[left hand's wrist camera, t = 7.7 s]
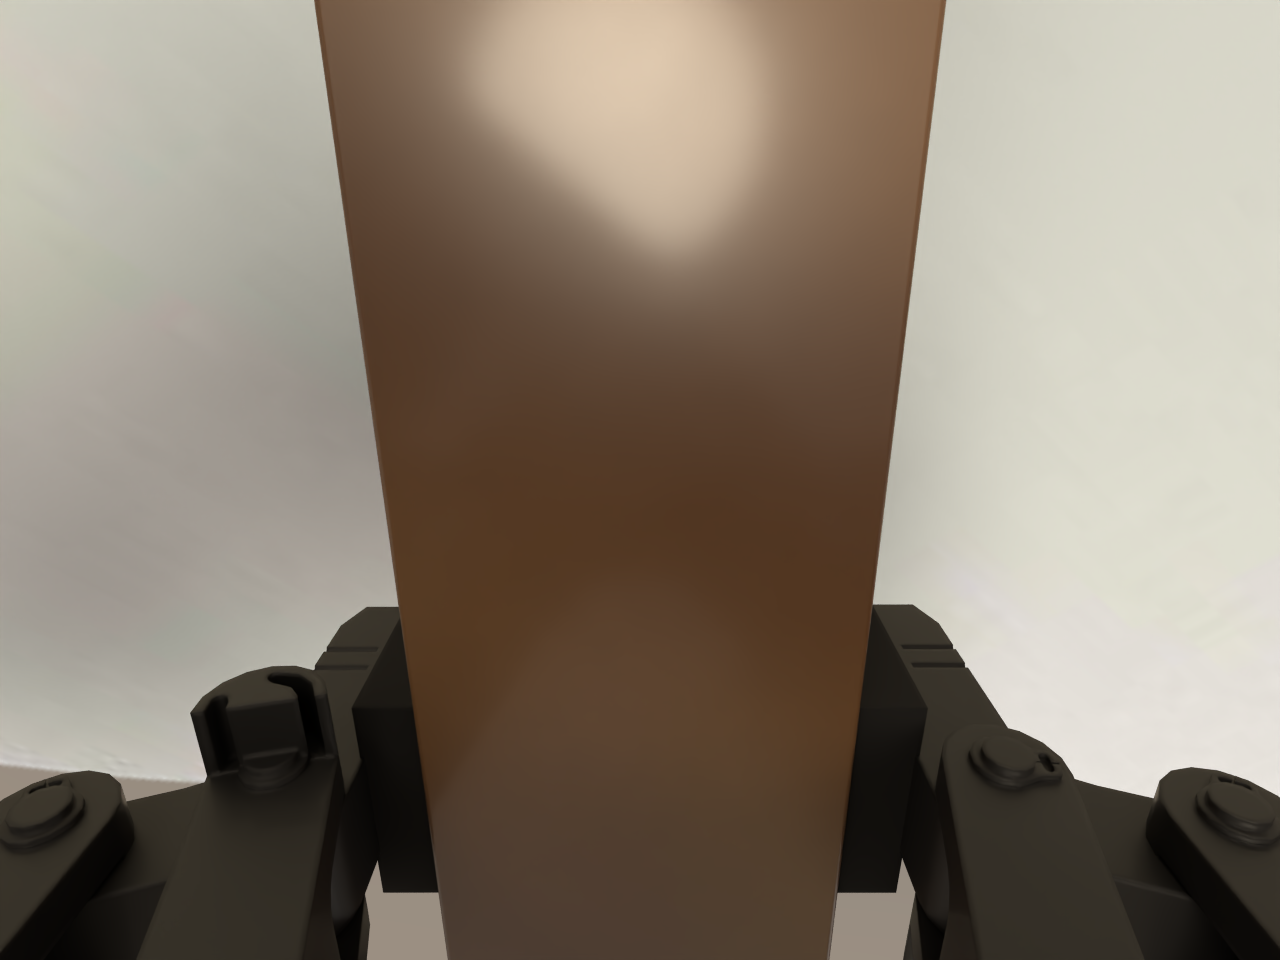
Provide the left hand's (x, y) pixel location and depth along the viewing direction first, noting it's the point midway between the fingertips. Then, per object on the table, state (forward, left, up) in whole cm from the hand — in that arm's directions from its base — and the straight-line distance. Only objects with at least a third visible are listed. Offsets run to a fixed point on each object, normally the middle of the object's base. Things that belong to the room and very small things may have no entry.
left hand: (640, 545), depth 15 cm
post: (-4, +34, -1) cm, 35 cm away
